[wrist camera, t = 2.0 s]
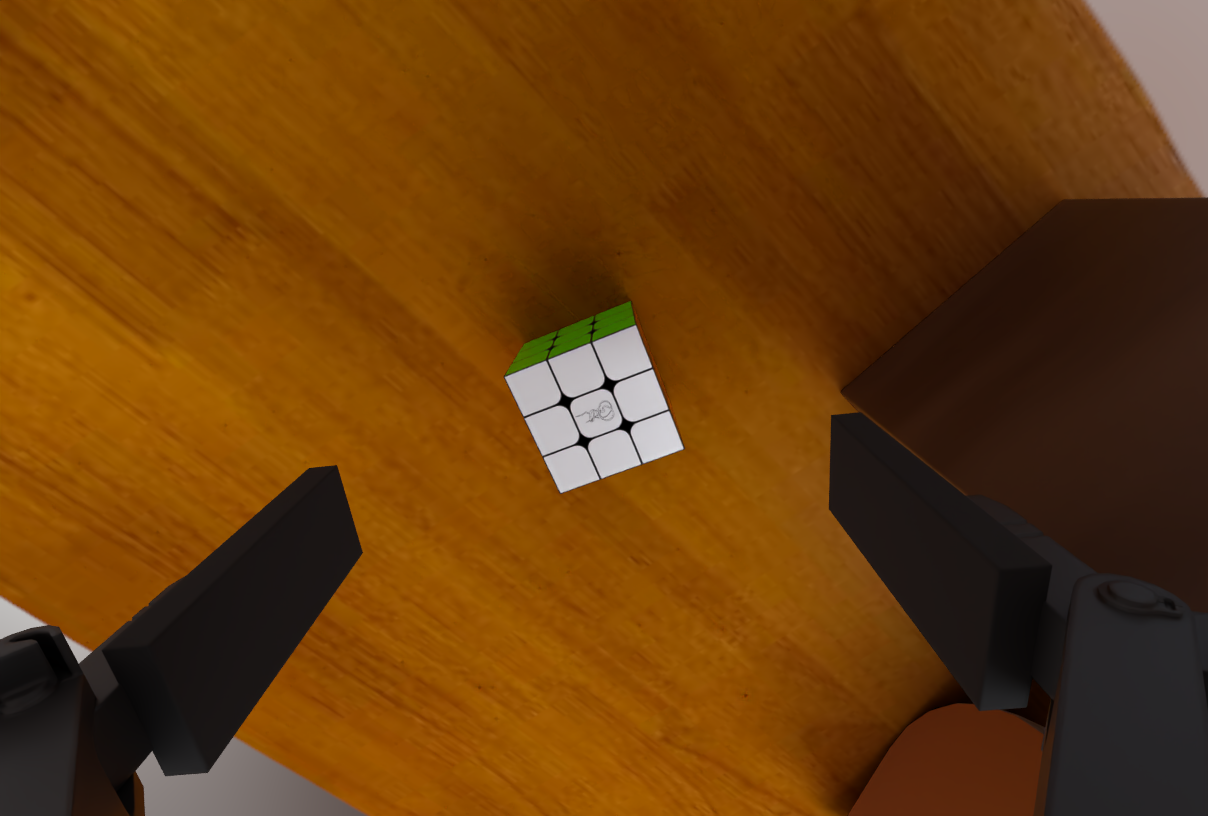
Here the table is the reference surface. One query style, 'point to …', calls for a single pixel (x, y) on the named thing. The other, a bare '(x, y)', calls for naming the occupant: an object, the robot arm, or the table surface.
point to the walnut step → (1074, 386)
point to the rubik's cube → (594, 399)
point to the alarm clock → (958, 766)
